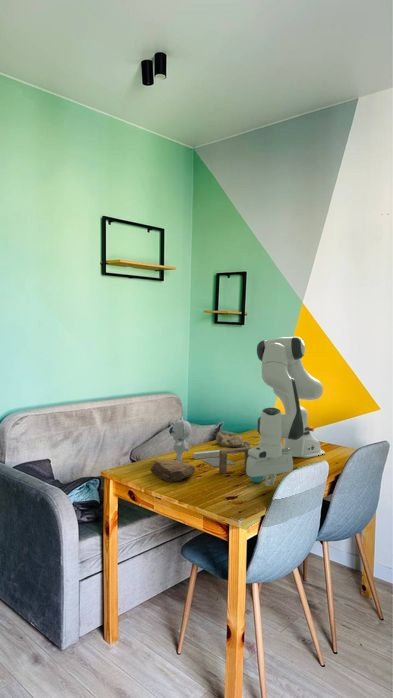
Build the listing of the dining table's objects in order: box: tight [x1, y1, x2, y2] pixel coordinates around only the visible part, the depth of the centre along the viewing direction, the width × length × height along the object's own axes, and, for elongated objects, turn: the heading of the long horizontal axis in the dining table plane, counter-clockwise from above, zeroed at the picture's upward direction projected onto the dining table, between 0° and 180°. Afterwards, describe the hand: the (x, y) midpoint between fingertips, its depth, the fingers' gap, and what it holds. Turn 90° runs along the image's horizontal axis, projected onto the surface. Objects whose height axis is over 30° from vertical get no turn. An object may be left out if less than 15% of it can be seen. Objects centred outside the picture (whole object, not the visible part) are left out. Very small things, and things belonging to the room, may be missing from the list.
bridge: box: [218, 446, 252, 475], centre depth 207 cm, size 3×15×10 cm, turn 116°
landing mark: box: [201, 457, 237, 468], centre depth 221 cm, size 12×12×1 cm
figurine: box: [215, 431, 252, 448], centre depth 253 cm, size 12×8×20 cm
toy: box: [169, 416, 192, 462], centre depth 222 cm, size 17×10×20 cm, turn 5°
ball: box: [248, 476, 264, 483], centre depth 192 cm, size 6×6×6 cm
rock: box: [150, 459, 196, 483], centre depth 197 cm, size 20×7×15 cm
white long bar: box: [192, 449, 221, 460], centre depth 230 cm, size 16×2×2 cm, turn 116°
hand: (269, 485), depth 184 cm, fingers closed
